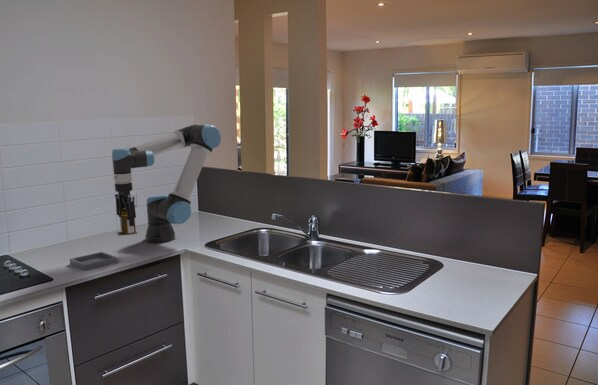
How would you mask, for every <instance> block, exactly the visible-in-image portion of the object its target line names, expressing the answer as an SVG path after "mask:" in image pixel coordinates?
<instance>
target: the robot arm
mask: <svg viewBox="0 0 598 385" xmlns="http://www.w3.org/2000/svg"><path fill="white" fill-rule="evenodd" d="M221 141H222V134H221V132H220V130H219V129H218V128H217V126H215V125H211V124H192V125H188V126H185V127H182V128H180V129H177V130H174V131H173V133H171V134H168V135H166V136H163V137H160V138H157V139H153V140H151V141H148V142H144V143H142V144H139V145H136V146H132V147H129V148H127V147H126V148H125V147H123V148H122V147H121V148H114V149H113V150H112V151H111V154H112V155H111V160H112V167H113V168H112V170H113V180H114V189H115V192H116V194H114V198H115V207H116V208H115V210H116V211H115V213H116V215H117V216H118V218H119V224H120V225H119V227H120V232H122V224H121V214H122V213H121V209H122V208H126V212H127V217H128V218H127V226H128V233H133V232H134V223H133V219H134V218H135V219H136V218H137V214H136V206H135V196H132V195H131V191H133V183H132V180H133V178H132V169H136V168H137V169H139V168H148V167H152V166H153V165H154V164H155V160H156V159H155V156H157V155H161V154H164V153H167V152H169V151H172V150H175V149H178V148H179V149H183V148H188V147H190V151H189V154H188V157H187V158H186V161H185V163H184V165H183V168H182V171H181V172H180V175H179V177H178V180H177V182H176V184H175V187H174V190H173V191H171V192H169V193H168V194H160V195H152V196H149V197H147V198H146V213H147V228H146V232H145V235H144V237H145V241H146V242H149V243H166V242H171V241H174V240H175V239H176V232H175V230H174V228H173V224H174V225H182V224H184V223H186V222H187V221H188V220H189V219H190V217H191V215H192V209H191V208H192V207H191V204H192V200H191V195H192V193H193V190H194V189H195V188H194V187H195V185H196V183H197V180H198V178H199V176H200V173H201V171H202V169H203V167H204V164H205V161H206V160H207V156H209V155H212V152H213V150H214V149H216V148H218V147H219V146H220V144H221Z"/></svg>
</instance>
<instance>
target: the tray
mask: <svg viewBox="0 0 598 385" xmlns="http://www.w3.org/2000/svg"><path fill="white" fill-rule="evenodd" d="M114 264H118V256H115V255H112V254H109V253H107V252H104V251H99V252H94V253H91V254H90V253H89V254H85V255H82V256H76V257H72V258H71V257H70V258H69V265H71V266H73V267H75V268H77V269H79V270H82V271H83V272H84V271H85V272H86V271H89V270H93V269H98V268H102V267H105V266H110V265H114Z"/></svg>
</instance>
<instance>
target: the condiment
mask: <svg viewBox="0 0 598 385" xmlns="http://www.w3.org/2000/svg"><path fill="white" fill-rule="evenodd" d="M121 213H122V214H121V224H122V231H117V232H116V234H117V236H118V237H121V236H130V235H132V236H133V235H137V234H138V232H137V230H136V218H134V219H133V223H134V232H133V233H128V226H127V218H128V217H127V212H126V208H122V209H121Z"/></svg>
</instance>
